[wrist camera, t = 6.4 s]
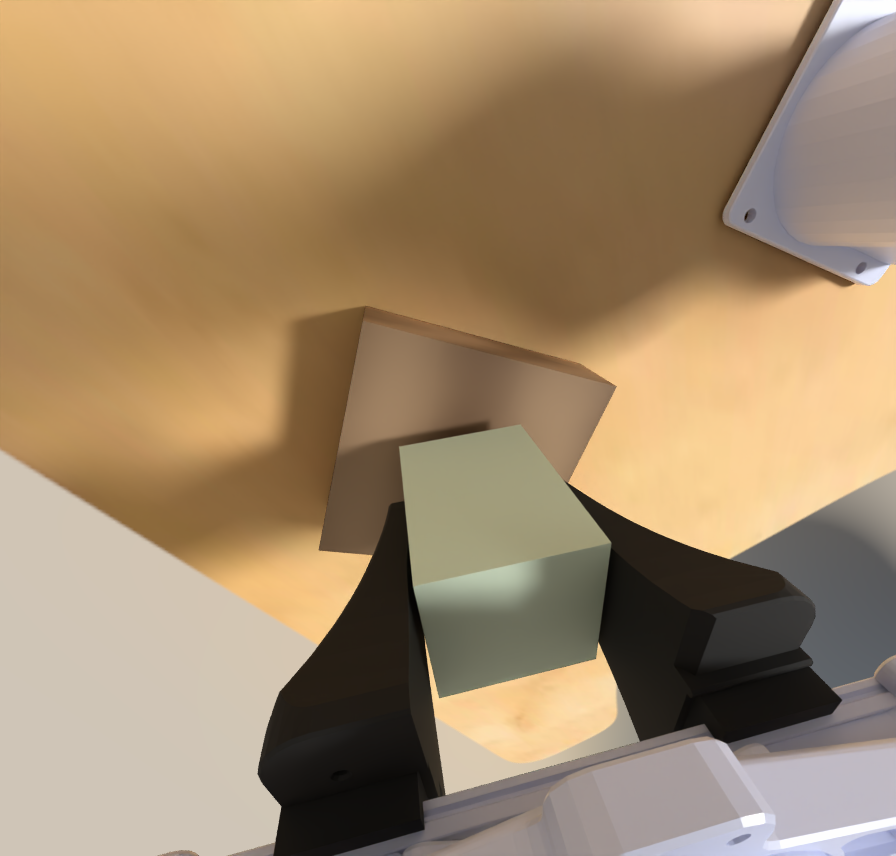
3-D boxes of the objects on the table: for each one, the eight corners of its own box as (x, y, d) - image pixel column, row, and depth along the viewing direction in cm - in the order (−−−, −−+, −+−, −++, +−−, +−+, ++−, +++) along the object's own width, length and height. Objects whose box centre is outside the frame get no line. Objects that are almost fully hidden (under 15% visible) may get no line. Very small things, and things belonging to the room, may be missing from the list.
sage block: (520, 424, 14) (611, 543, 8) (522, 517, 16) (595, 658, 10) (399, 446, 13) (413, 586, 8) (418, 539, 15) (439, 698, 10)
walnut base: (580, 364, 17) (616, 386, 15) (506, 527, 21) (524, 568, 19) (365, 305, 14) (362, 320, 12) (327, 506, 18) (318, 550, 16)
